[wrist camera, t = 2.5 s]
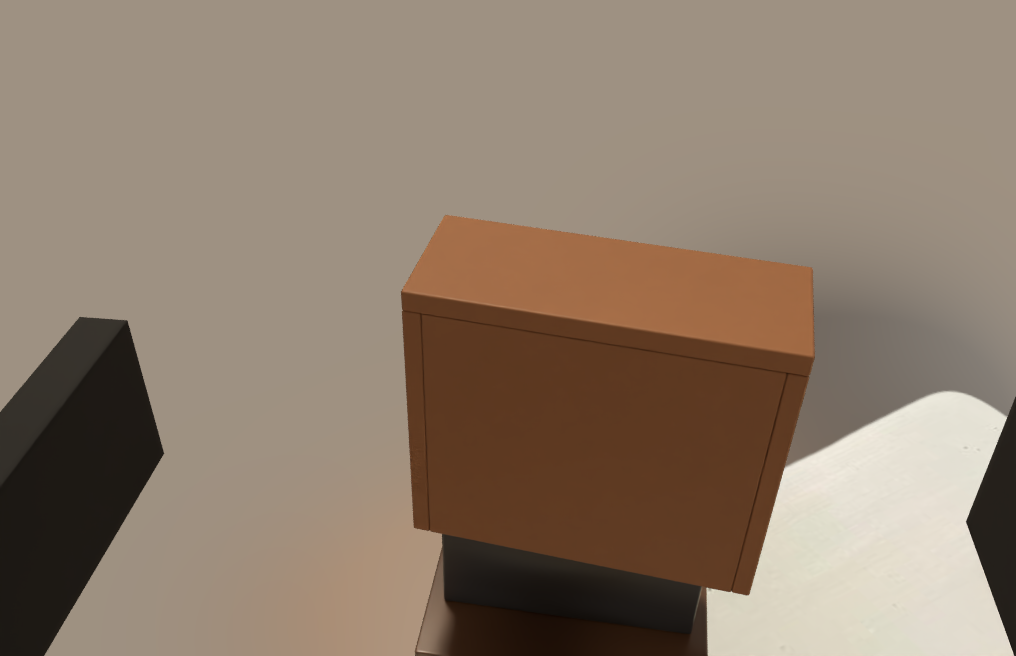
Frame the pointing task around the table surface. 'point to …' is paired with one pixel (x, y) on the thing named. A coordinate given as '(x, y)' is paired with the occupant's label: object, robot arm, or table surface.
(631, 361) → the orange brown block
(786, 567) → the table surface
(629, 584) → the wooden block with slab
